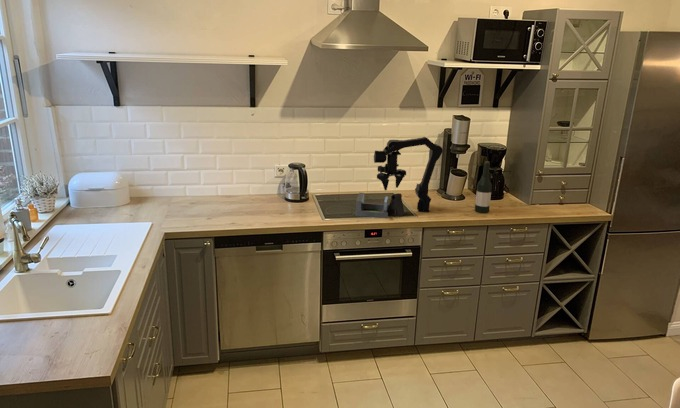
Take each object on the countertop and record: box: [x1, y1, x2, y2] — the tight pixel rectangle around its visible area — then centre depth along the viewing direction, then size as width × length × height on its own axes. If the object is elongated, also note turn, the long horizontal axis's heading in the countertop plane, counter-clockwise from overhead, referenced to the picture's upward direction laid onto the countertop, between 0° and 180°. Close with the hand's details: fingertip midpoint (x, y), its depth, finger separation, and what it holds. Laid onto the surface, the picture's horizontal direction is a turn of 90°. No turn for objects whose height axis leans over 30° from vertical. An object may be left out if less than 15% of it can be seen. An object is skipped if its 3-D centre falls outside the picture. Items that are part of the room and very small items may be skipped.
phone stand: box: [387, 192, 406, 218], centre depth 291 cm, size 9×6×12 cm, turn 47°
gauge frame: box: [354, 192, 390, 219], centre depth 293 cm, size 18×17×9 cm
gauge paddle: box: [383, 196, 389, 214], centre depth 290 cm, size 2×18×8 cm, turn 172°
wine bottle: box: [474, 160, 493, 215], centre depth 298 cm, size 8×8×30 cm
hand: (391, 189), depth 296 cm, fingers open, 9 cm apart
